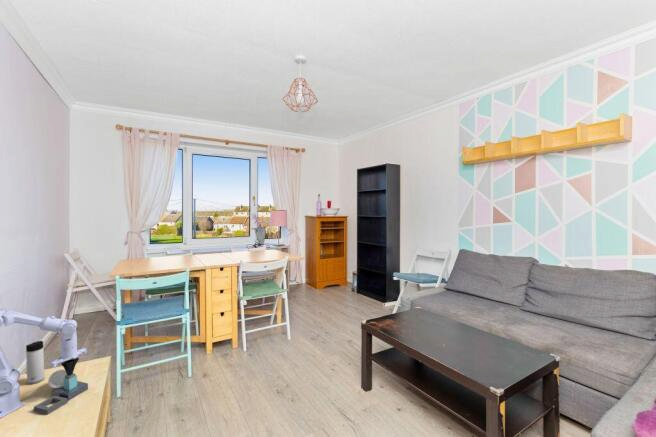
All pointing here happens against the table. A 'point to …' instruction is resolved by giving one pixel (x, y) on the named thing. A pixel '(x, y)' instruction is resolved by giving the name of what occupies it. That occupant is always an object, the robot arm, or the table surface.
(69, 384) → the plug
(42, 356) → the travel mug
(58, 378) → the clear glass jar
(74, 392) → the port
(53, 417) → the table surface
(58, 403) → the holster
